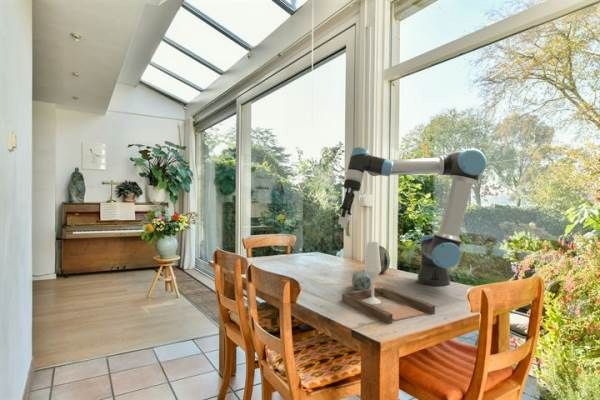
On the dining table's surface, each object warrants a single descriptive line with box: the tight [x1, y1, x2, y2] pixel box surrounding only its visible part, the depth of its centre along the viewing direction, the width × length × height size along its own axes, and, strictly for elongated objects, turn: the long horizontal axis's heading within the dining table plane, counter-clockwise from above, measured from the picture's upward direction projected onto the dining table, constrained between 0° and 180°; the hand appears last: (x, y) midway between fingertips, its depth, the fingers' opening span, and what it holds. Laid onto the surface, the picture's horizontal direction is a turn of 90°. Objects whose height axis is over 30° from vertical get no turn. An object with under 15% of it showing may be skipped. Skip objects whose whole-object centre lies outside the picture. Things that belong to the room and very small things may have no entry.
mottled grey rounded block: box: [351, 270, 371, 291], centre depth 162 cm, size 14×10×10 cm
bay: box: [341, 286, 436, 325], centre depth 137 cm, size 22×29×3 cm
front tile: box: [383, 304, 426, 322], centre depth 129 cm, size 14×10×1 cm
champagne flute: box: [363, 241, 382, 305], centre depth 143 cm, size 7×7×24 cm
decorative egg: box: [379, 245, 391, 274], centre depth 194 cm, size 12×12×15 cm
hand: (342, 226), depth 158 cm, fingers open, 13 cm apart
